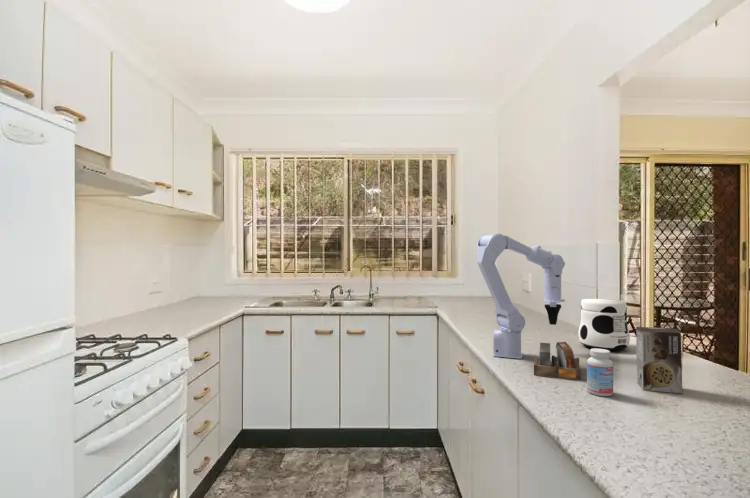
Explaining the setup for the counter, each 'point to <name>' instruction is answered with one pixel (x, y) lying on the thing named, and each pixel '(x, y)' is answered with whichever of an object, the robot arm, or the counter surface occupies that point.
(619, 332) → the milk container
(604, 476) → the counter surface
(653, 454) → the counter surface
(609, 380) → the pill bottle
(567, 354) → the tin
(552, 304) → the robot arm
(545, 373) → the rack
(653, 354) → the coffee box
